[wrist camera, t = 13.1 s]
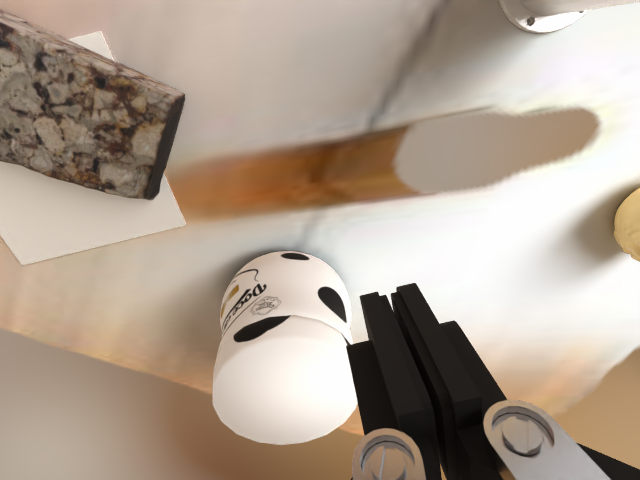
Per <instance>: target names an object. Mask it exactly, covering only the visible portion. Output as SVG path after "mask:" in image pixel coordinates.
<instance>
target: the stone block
mask: <svg viewBox="0 0 640 480" xmlns="http://www.w3.org/2000/svg"><path fill="white" fill-rule="evenodd" d="M184 101H185V94H184V93H181V92H179V91H177V90H176V89H174V88H171V87H169V86H167V85H165V84H163V83H161V82H158V81H156V80H154V79H152V78H150V77H148V76H146V75H144V74H142V73H140V72H138V71H135V70H133V69H131V68H129V67H127V66H125V65H122V64H120V63H118V62H115V61H113V60H111V59H109V58H106V57H104V56H102V55H100V54H98V53H95V52H93V51H91V50H89V49H87V48H85V47H82V46H80V45H78V44H76V43H74V42H72V41H70V40H68V39H65V38H63V37H61V36H59V35H56V34H54V33H52V32H50V31H48V30H45V29H43V28H41V27H39V26H37V25H34V24H32V23H29V22H27V21H25V20H23V19H21V18H19V17H17V16H14V15H12V14H10V13H8V12H6V11H3V10H1V9H0V161H1V162H6V163H11V164H16V165H21V166H23V167H25V168H27V169H29V170H32V171H35V172H38V173H41V174H43V175H45V176H48V177H51V178H55V179H57V180H62V181H65V182H69V183H74V184H77V185H80V186H83V187H85V188H89V189H94V190H98V191H101V192H104V193H107V194H112V195H118V196H121V197H126V198H135V199H147V200H154V198H155V197H156V196H157V195H158V194H159V192H160V184H161V180H162V177H163V174H164V170H165V168H166V164H167V161H168V158H169V154H170V151H171V148H172V145H173V141H174V138H175V134H176V130H177V127H178V123H179V120H180V116H181V113H182V110H183V106H184Z"/></svg>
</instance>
